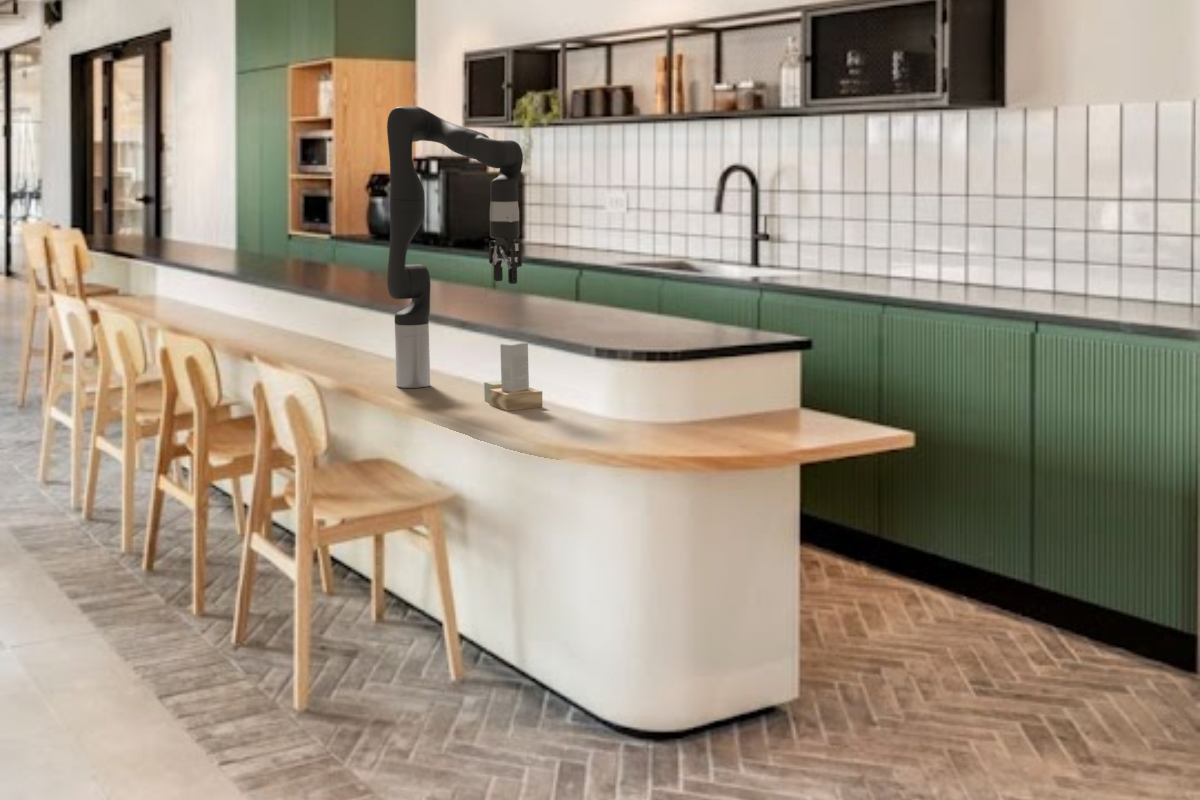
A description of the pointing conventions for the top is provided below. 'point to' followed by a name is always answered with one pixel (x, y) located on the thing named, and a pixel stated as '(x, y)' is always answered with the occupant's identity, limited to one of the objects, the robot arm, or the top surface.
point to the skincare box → (514, 366)
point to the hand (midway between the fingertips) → (505, 282)
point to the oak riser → (515, 399)
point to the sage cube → (491, 386)
